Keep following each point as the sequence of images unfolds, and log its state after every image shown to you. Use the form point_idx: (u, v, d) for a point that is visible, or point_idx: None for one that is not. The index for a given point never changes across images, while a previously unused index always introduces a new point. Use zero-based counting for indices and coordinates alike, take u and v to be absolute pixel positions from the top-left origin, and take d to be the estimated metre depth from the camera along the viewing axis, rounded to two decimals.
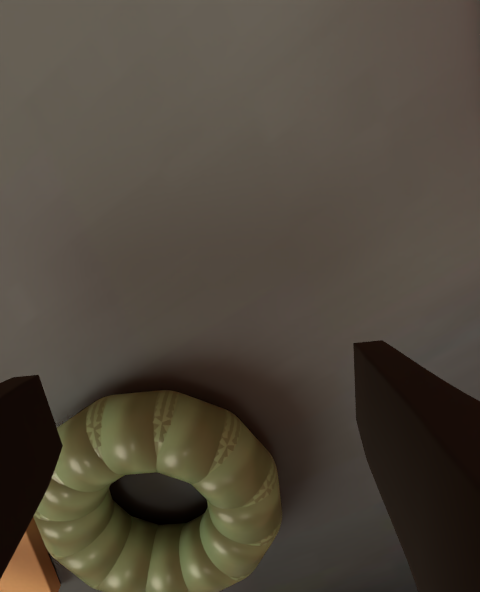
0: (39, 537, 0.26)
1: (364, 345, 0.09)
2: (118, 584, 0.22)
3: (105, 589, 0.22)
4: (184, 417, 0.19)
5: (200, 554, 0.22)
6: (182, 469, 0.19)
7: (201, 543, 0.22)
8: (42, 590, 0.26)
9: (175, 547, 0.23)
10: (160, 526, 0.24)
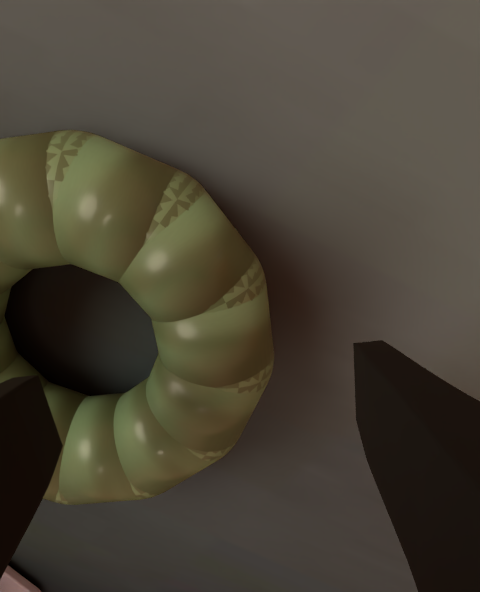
0: None
1: (364, 345, 0.09)
2: None
3: None
4: (262, 309, 0.13)
5: None
6: (200, 354, 0.12)
7: (68, 428, 0.14)
8: None
9: None
10: (20, 356, 0.15)
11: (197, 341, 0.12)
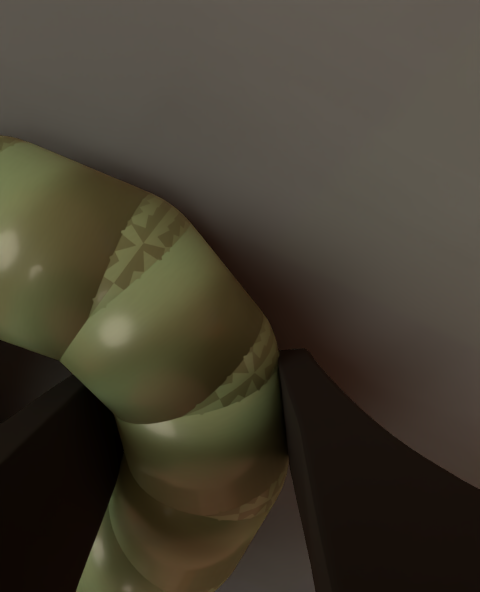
0: None
1: (286, 353, 0.09)
2: None
3: None
4: (274, 397, 0.09)
5: None
6: (182, 471, 0.08)
7: None
8: None
9: None
10: None
11: (177, 453, 0.08)
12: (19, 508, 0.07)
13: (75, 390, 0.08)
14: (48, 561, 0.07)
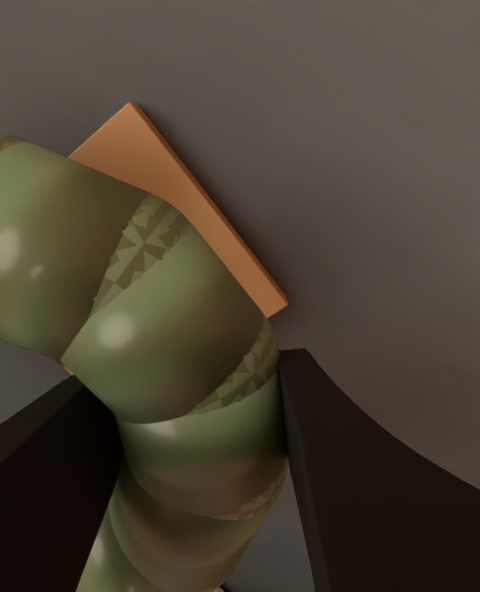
0: None
1: (286, 352, 0.09)
2: None
3: None
4: (274, 397, 0.09)
5: None
6: (182, 471, 0.08)
7: None
8: None
9: None
10: None
11: (177, 453, 0.08)
12: (19, 508, 0.07)
13: (76, 390, 0.08)
14: (48, 561, 0.07)
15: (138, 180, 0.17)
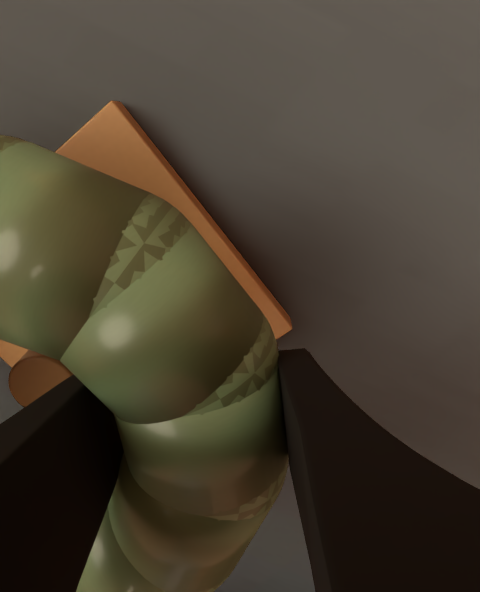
0: None
1: (287, 352, 0.09)
2: None
3: None
4: (274, 397, 0.09)
5: None
6: (182, 471, 0.08)
7: None
8: None
9: None
10: None
11: (177, 453, 0.08)
12: (19, 508, 0.07)
13: (75, 390, 0.08)
14: (48, 561, 0.07)
15: None
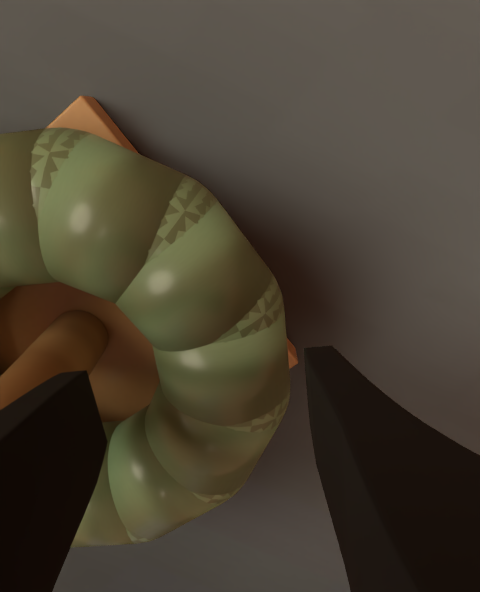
0: None
1: (313, 350, 0.09)
2: None
3: None
4: (280, 336, 0.11)
5: None
6: (209, 389, 0.11)
7: None
8: None
9: None
10: None
11: (205, 374, 0.10)
12: None
13: (52, 392, 0.09)
14: (21, 563, 0.07)
15: None
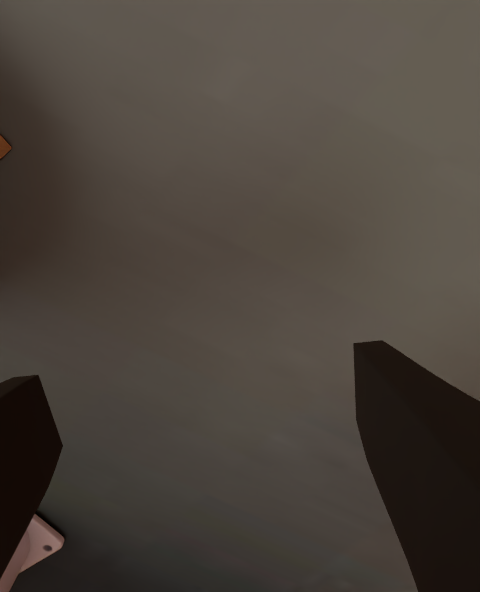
0: None
1: (364, 345, 0.09)
2: None
3: None
4: None
5: None
6: None
7: None
8: None
9: None
10: None
11: None
12: None
13: None
14: None
15: None
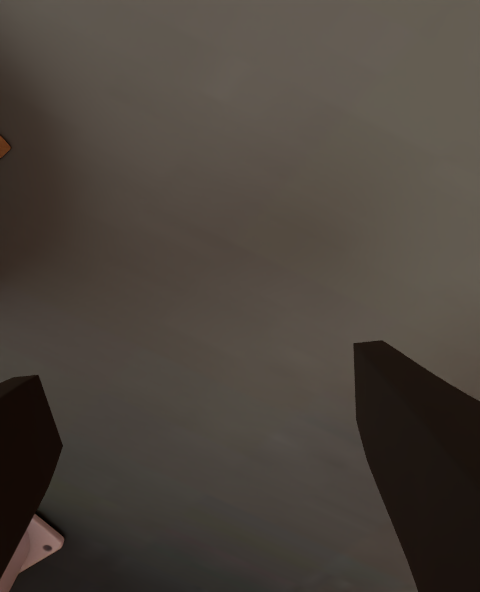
0: None
1: (364, 345, 0.09)
2: None
3: None
4: None
5: None
6: None
7: None
8: None
9: None
10: None
11: None
12: None
13: None
14: None
15: None
